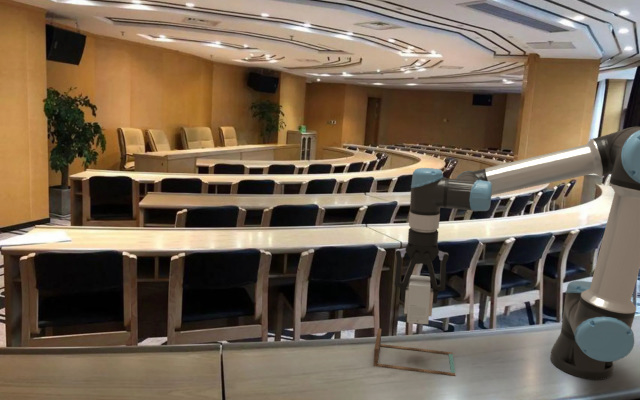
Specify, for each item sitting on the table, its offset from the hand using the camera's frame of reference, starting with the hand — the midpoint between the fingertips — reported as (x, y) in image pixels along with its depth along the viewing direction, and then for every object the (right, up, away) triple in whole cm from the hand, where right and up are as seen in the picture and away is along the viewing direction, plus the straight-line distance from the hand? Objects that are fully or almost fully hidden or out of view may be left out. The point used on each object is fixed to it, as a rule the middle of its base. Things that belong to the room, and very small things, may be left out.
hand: (417, 312), depth 134 cm
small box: (0, -2, 0) cm, 2 cm away
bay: (0, -13, +3) cm, 14 cm away
